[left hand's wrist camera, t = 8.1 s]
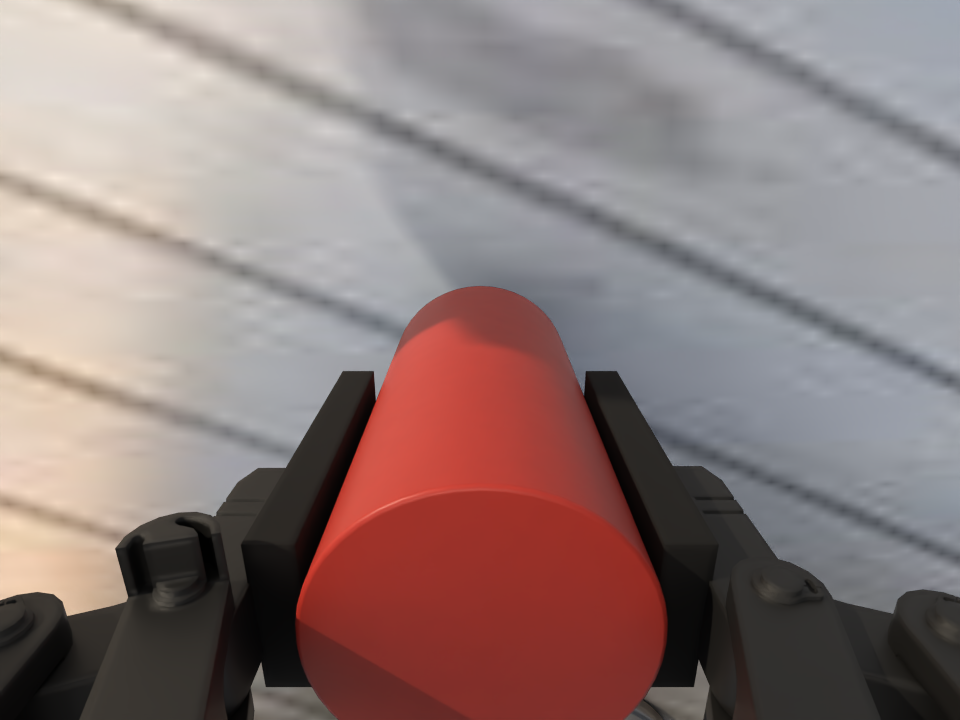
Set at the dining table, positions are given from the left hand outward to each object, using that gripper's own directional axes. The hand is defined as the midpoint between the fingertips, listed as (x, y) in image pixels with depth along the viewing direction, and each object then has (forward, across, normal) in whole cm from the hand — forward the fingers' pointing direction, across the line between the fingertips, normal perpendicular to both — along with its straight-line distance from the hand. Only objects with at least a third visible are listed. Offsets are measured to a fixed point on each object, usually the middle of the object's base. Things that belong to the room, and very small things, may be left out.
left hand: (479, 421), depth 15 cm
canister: (+4, 0, 0) cm, 4 cm away
